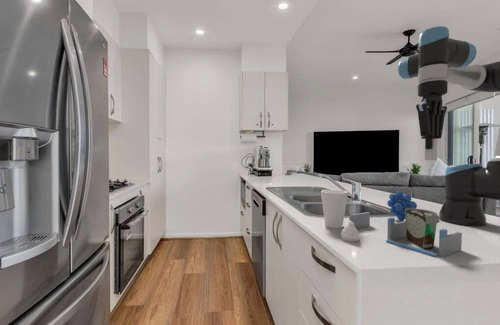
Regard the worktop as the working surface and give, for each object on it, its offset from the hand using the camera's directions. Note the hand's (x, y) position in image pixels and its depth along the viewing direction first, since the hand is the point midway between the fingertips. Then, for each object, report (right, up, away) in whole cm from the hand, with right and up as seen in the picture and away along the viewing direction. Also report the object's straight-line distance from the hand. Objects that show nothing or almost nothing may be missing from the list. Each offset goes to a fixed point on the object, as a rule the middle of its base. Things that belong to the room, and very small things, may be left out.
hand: (430, 160), depth 85 cm
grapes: (+6, -25, +27) cm, 37 cm away
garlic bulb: (-23, -26, +4) cm, 35 cm away
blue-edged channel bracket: (-7, -25, +5) cm, 27 cm away
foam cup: (-24, -25, +20) cm, 40 cm away
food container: (-3, -26, -1) cm, 26 cm away
